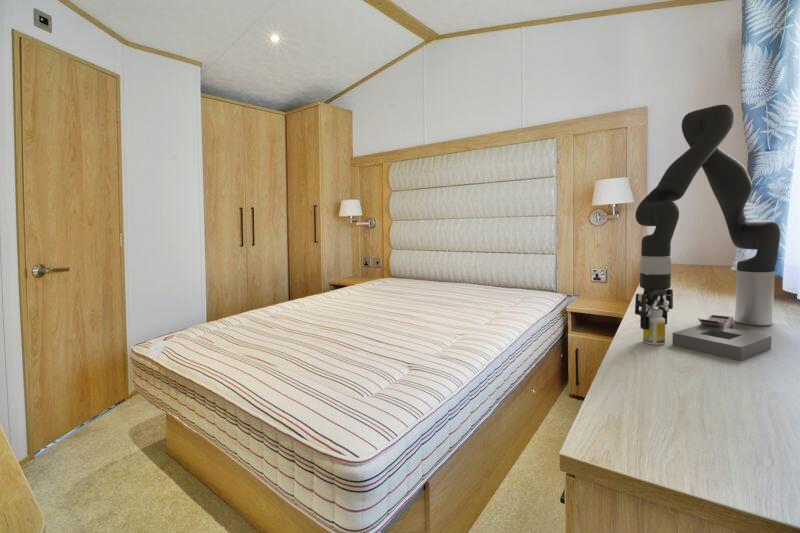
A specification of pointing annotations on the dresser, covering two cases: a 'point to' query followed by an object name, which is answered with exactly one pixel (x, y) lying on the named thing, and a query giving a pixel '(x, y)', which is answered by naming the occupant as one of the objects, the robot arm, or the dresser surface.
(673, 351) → the dresser surface
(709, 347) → the socket block
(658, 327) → the supplement bottle
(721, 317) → the mobile phone
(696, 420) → the dresser surface
